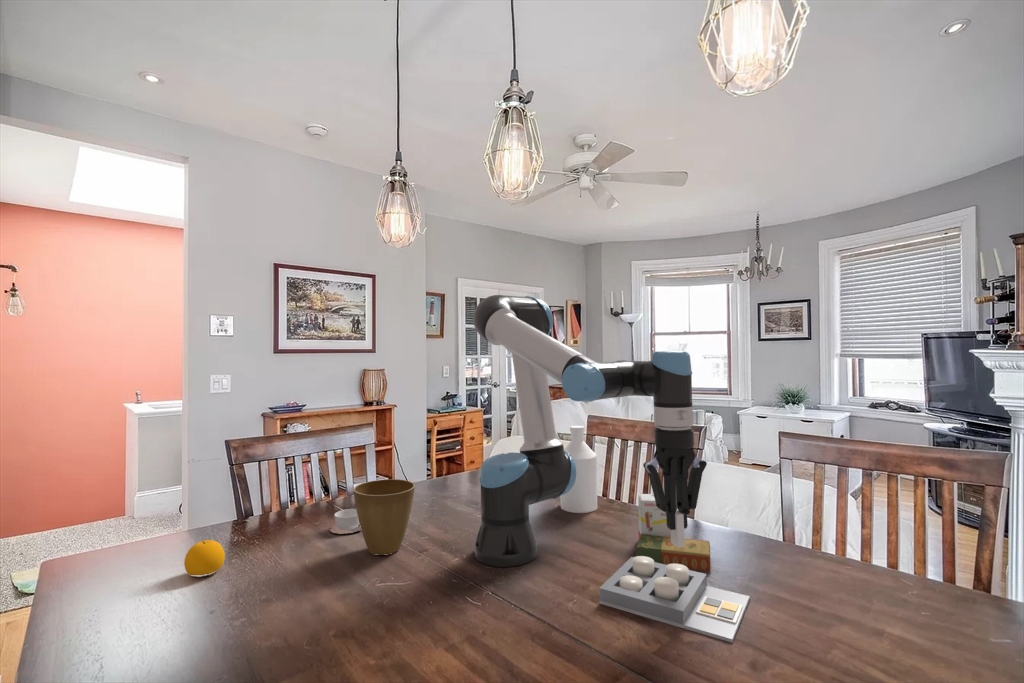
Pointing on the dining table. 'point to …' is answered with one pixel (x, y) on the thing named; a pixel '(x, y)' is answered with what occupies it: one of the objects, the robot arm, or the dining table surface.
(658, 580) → the button
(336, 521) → the teacup
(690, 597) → the keypad board
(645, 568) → the button
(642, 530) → the ink box
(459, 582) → the dining table surface
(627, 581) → the button
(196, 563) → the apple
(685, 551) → the carton
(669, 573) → the button
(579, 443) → the bottle
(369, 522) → the plant pot
